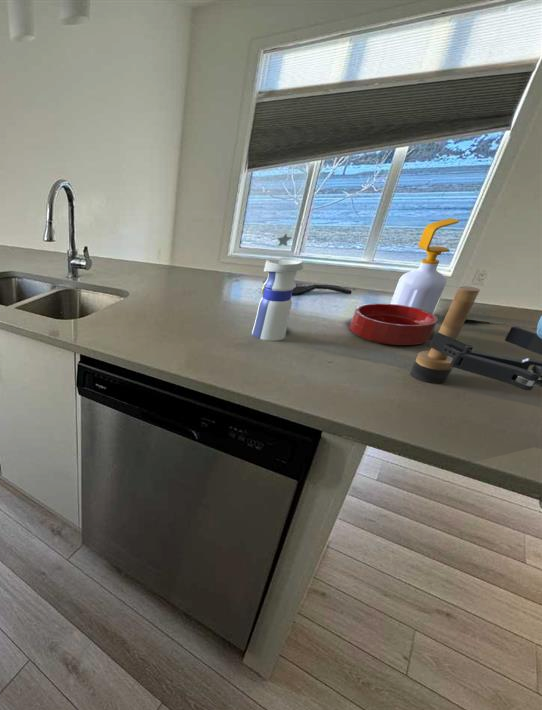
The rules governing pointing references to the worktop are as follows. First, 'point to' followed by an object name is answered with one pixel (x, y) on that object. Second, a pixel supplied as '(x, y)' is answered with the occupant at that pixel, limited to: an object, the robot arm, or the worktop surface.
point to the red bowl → (393, 324)
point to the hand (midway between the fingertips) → (471, 336)
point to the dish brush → (436, 363)
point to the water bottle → (276, 297)
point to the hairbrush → (303, 289)
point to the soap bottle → (424, 275)
